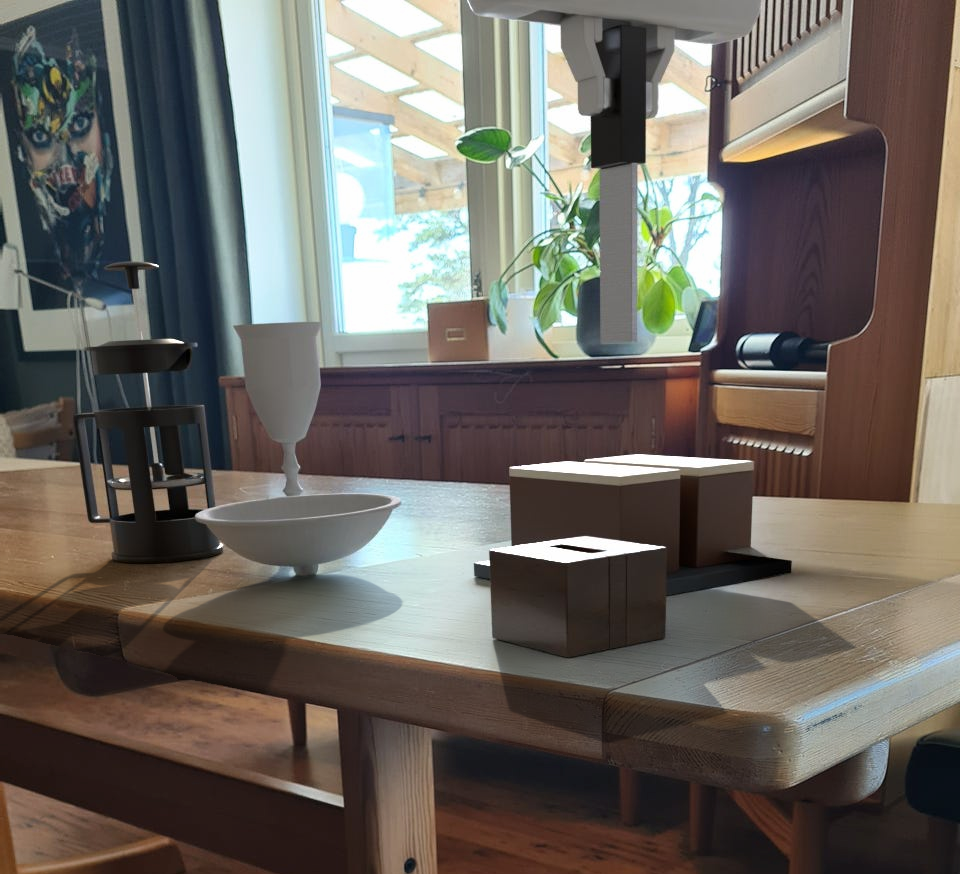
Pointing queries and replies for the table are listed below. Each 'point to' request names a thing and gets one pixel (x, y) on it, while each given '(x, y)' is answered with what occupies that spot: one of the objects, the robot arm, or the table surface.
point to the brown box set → (647, 513)
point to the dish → (300, 527)
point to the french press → (147, 529)
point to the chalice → (283, 383)
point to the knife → (620, 178)
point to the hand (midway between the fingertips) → (618, 116)
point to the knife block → (578, 594)
